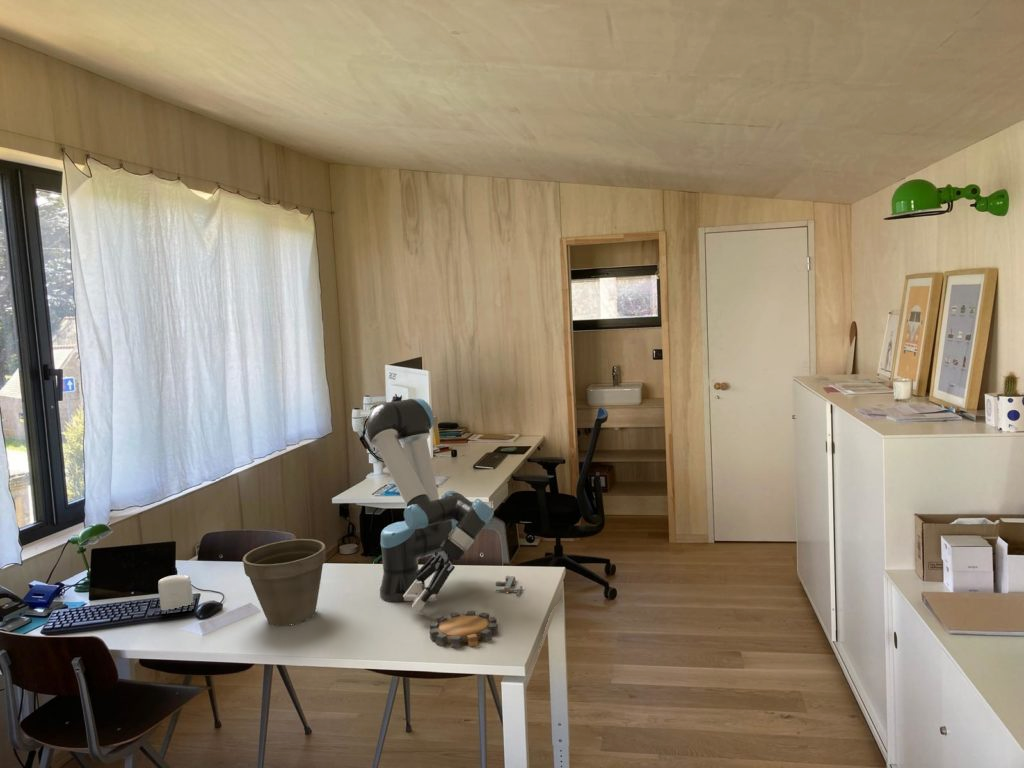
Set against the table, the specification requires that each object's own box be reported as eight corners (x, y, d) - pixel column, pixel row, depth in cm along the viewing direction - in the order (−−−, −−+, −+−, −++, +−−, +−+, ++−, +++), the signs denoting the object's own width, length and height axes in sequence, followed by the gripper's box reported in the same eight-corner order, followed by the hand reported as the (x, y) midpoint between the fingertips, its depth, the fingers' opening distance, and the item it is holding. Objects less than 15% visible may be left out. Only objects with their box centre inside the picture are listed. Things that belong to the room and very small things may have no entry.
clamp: (498, 575, 264) (526, 575, 262) (498, 582, 264) (527, 582, 262) (489, 592, 249) (519, 592, 247) (489, 598, 249) (519, 598, 247)
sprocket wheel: (416, 637, 221) (415, 629, 221) (463, 614, 236) (462, 606, 236) (464, 653, 209) (464, 644, 208) (511, 628, 223) (511, 620, 223)
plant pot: (246, 639, 228) (239, 568, 226) (251, 609, 251) (245, 545, 249) (332, 625, 234) (326, 556, 232) (329, 597, 258) (323, 534, 256)
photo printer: (159, 616, 251) (155, 579, 250) (163, 611, 255) (159, 575, 254) (192, 612, 253) (188, 576, 251) (195, 607, 257) (191, 571, 256)
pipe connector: (432, 620, 231) (429, 588, 230) (400, 620, 233) (397, 588, 232) (441, 607, 241) (439, 576, 240) (411, 607, 243) (409, 576, 242)
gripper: (477, 560, 231) (430, 623, 227) (453, 541, 251) (409, 599, 246) (459, 546, 229) (411, 609, 224) (436, 528, 248) (392, 586, 244)
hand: (410, 603), depth 235 cm, fingers closed on pipe connector, 9 cm apart
